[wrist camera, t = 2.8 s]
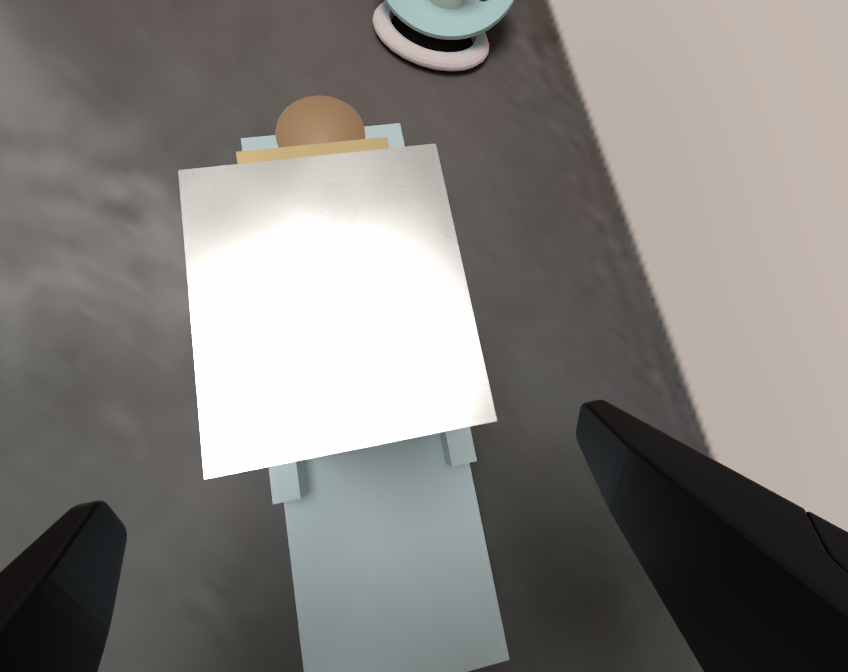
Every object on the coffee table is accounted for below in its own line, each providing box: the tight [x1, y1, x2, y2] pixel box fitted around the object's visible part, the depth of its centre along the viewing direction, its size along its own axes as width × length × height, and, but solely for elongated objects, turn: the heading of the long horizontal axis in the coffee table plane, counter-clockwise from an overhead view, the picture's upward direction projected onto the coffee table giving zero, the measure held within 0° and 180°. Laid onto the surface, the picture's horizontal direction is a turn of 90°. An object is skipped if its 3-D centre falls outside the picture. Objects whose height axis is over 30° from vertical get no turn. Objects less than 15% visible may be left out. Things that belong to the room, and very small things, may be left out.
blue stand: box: [241, 96, 510, 672], centre depth 16 cm, size 22×7×5 cm, turn 11°
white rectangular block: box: [178, 137, 497, 480], centre depth 12 cm, size 6×4×10 cm
